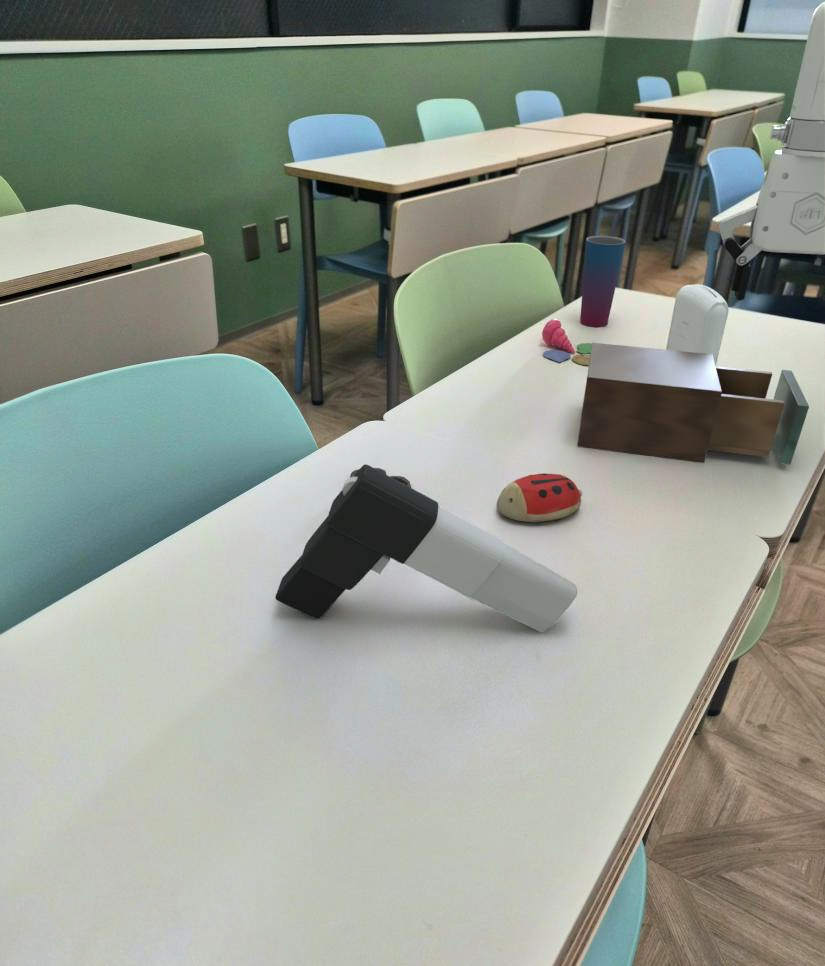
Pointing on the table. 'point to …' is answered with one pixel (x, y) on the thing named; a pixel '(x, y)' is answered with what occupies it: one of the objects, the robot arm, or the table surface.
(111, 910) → the table surface
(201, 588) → the table surface
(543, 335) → the toy pieces
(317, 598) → the handheld device
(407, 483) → the corroded twin loop
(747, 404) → the drawer
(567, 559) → the table surface
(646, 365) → the cabinet
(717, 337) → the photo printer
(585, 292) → the cup
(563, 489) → the ladybug figurine
